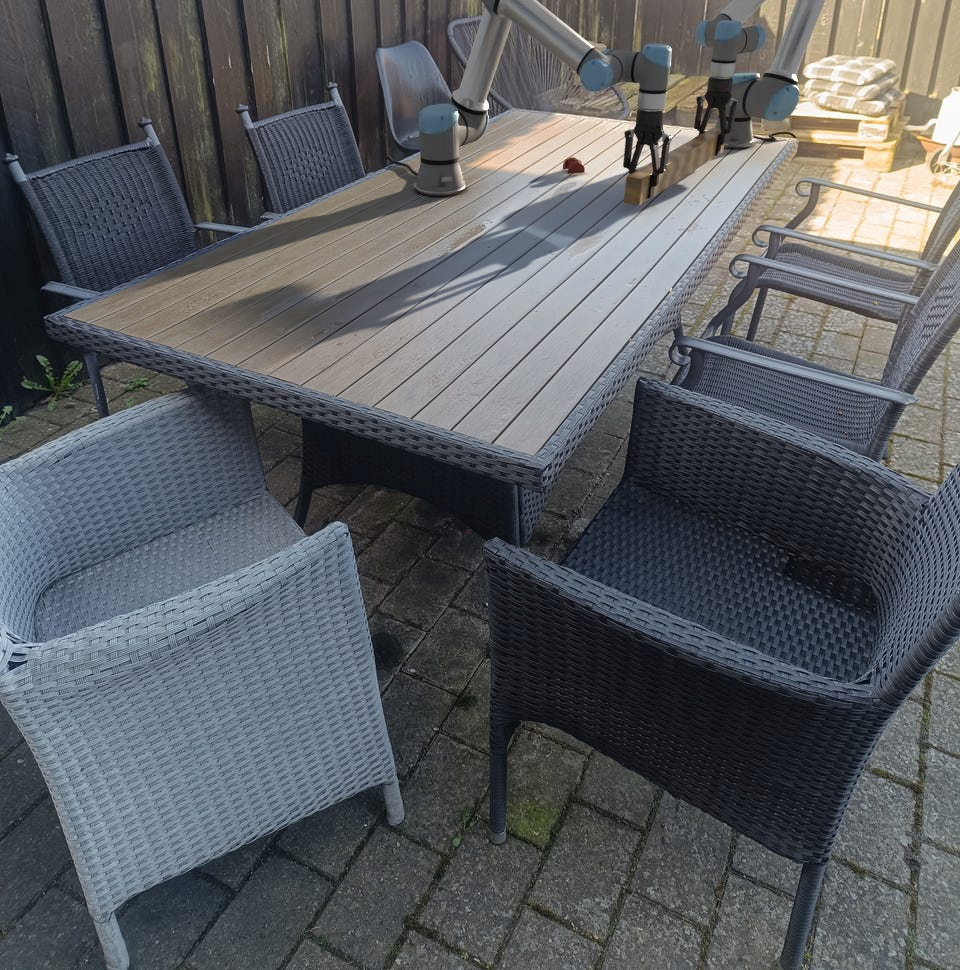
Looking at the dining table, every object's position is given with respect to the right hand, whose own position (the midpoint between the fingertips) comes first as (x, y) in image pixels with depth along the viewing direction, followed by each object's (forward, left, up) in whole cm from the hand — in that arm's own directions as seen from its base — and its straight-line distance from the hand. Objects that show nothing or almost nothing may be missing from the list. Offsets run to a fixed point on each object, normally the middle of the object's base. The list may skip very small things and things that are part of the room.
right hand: (709, 153), depth 279 cm
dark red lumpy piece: (+42, -19, -4) cm, 46 cm away
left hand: (+50, +22, 0) cm, 55 cm away
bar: (+25, +11, -1) cm, 27 cm away
